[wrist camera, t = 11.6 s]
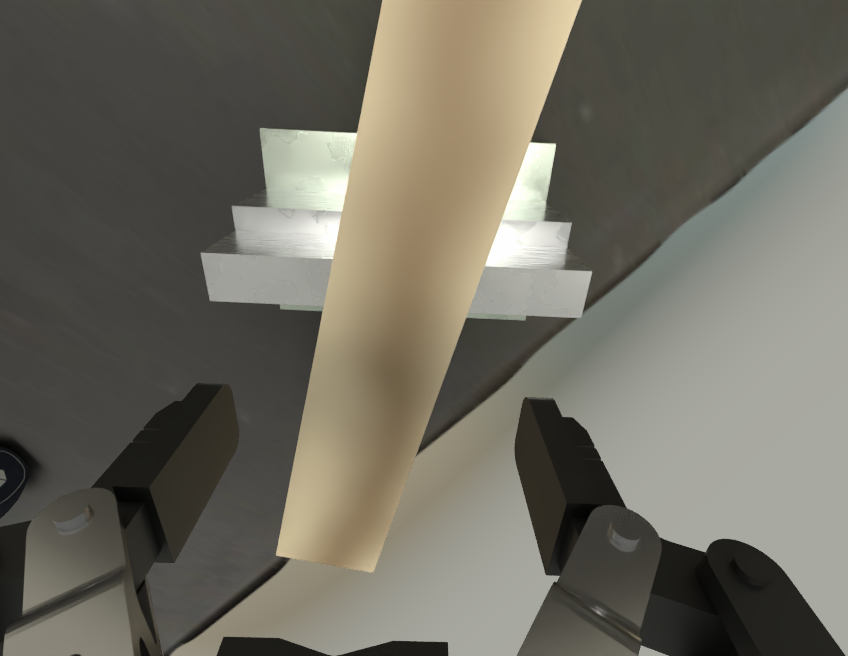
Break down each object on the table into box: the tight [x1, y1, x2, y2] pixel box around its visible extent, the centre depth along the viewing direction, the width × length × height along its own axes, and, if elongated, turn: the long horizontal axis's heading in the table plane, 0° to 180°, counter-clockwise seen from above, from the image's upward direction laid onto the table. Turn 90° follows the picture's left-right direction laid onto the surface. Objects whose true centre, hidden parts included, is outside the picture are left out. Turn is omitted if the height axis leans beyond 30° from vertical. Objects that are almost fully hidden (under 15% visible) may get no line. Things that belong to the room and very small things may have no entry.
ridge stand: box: [201, 127, 592, 320], centre depth 25 cm, size 18×12×11 cm, turn 87°
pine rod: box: [276, 0, 582, 573], centre depth 18 cm, size 5×28×5 cm, turn 164°
